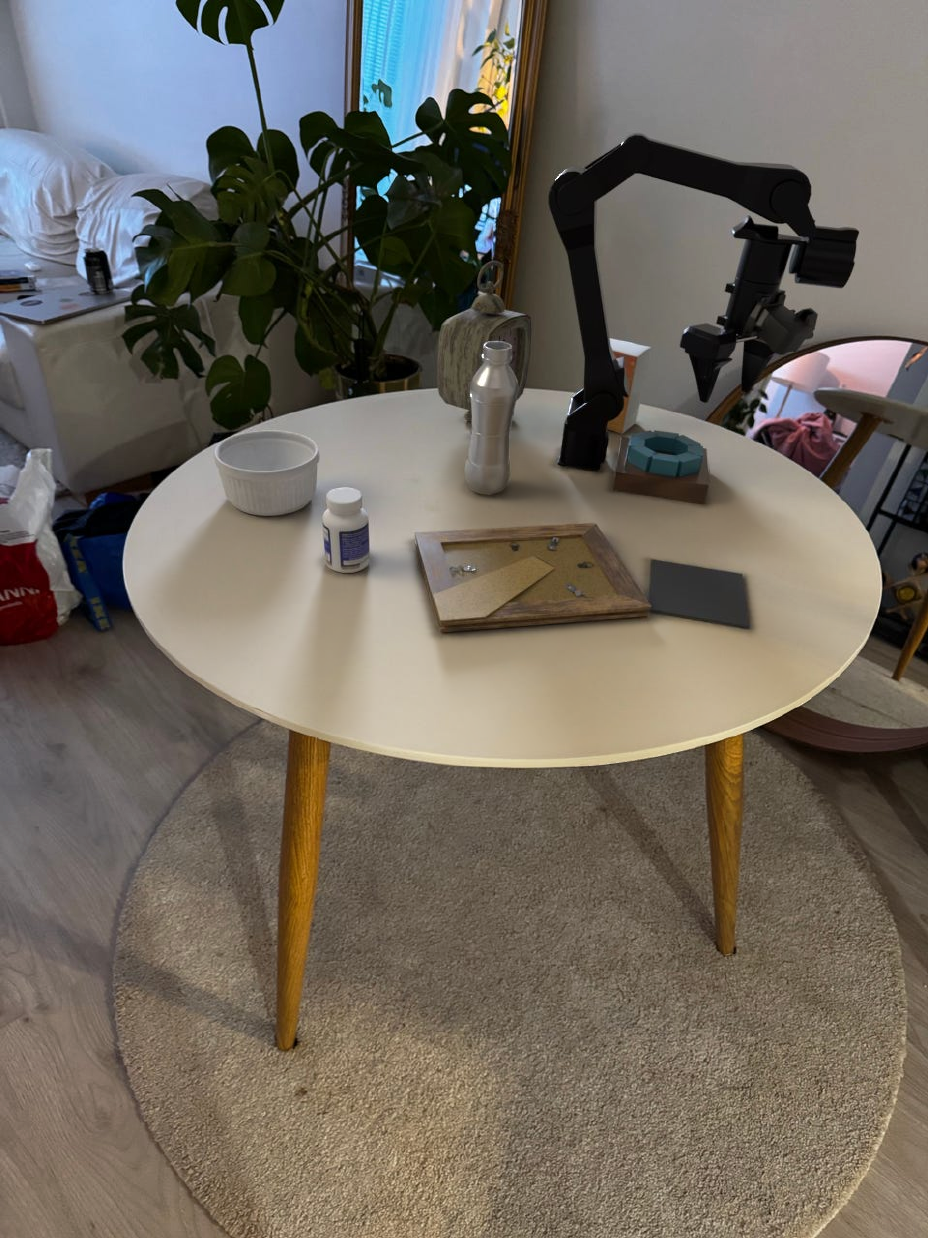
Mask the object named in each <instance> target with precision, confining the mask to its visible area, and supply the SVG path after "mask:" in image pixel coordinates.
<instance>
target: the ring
mask: <svg viewBox="0 0 928 1238" xmlns="http://www.w3.org/2000/svg"><path fill="white" fill-rule="evenodd" d="M629 438H630V439H629V444H628V450H627V457H626V459H628V462H630V463H632V464H633V465H635V466H637V467H639V468H640V469H642V470H644V471H648V470H650V471H649V473H655V474H662V475H669V476H676V474H677V475H678V476H683V475H687V474H690V473H694V472H698V470H700V468H701V464H702V460H703V448H704V445H702V443H700V442H698V441H696V440H694V439H692V438H690V437H688V436H686V435H685V434H679V433H676V432H670V431H663V430H655V429H654V430H653V431H652V430H646V431H642V432H637V433H633V434H632V435H630V436H629ZM652 450H660V451H667V452H673V453H674V454H676V455H668V454H661V453H656V452H654V451H652Z"/></svg>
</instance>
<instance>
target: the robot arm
mask: <svg viewBox="0 0 928 1238" xmlns="http://www.w3.org/2000/svg"><path fill="white" fill-rule="evenodd" d="M634 175H643V176H646V177H649V178H653V179H657V180H660V181H665V182H667V183H672V184H676V185H679V186H683V187H687V188H690V189H693V190H697V191H700V192H705V193H707V194H708V193H709V194H712V195H715V196H719V197H723V198H725V199H728V200H730V201H732V202H733V203H735V204H737V205H739V206H740V207H742V208H744V209H746V210H747V211H750V212H751V213H753V214H755V215H757V216H759V217H761V218H763V219H765V220H767V221H768V222H771V223H773V224H777V225H773V224H763V223H755V222H754V219H753V217H752V216H751V215H750V214H749V215H746V217H745V218H744V219H743V220H742V221H741V222H739V223H738V224H736V225H735V226H733V227H732V228H731V229H730V232H731V234H732V236H733V238H734V239H741V240H744V243H743V246H742V250H741V254H740V257H739V262H738V265H737V268H736V269H737V270H736V273H735V276H734V281H733V282H727V283H726V284H725V288H724V291H723V292H724V293H728V294H729V298H728V303H727V306H726V310H725V314H721V315H718V316H717V318H716V322H715V324H716V325H719V326H721V327H718V326H716V325H713V324H710V323H707V322H705V323H700V324H694V325H689V326H688V327H686V328H685V329H684V330H682V333H681V336H680V337H681V338H680V342H679V348H681V349H683V350H684V353H685V354H687V355H688V357H689V360H690V364H691V367H692V370H693V375H694V378H695V383H696V389H697V393H698V398H699V402H702V403H704V404H707V403H709V400H710V398H711V397H712V394H713V391H714V389H715V386H716V383H717V380H718V378H719V375H720V372H721V369H722V368H723V367H724V366H726V365H727V364H728V363H730V362H732V361H733V358H732V357H731V355H732V354H733V353H734V352H735V350H736V347H737V344H738V343H743V348H742V361H741V362H742V365H741V376H740V377H741V378H740V379H741V380H740V390H741V391H742V392H744V393H745V394H746V393H750V391H751V390H752V388H753V387H754V385H755V383H756V382H757V381H758V379H759V378H760V376H761V374H762V373H763V371H764V370H765V368H766V367H767V365H769V363H770V361H771V360H772V358H774V356H776V355H779V356H784V355H786V354H787V353H796V352H798V351H799V350H800V348H801V346H802V345H803V344H804V342H806V340H810V339H812V338H813V337H814V335H815V334H814V331H815V329H816V325H817V320H818V316H819V313H817V312H816V311H815V310H814V309H813V308H811V307H808V308H803V309H800V310H799V311H797V312H796V310H795V309H793V308H792V309H789V308H787V307H786V305H785V302H786V301H785V300H786V298H787V295H786V290H783V289H780V287H781V284H782V281H783V278H784V275H785V271H786V267H787V264H788V261H789V264H788V274H789V275H794V283H795V284H799V285H806V286H816V287H823V288H824V287H825V288H831V289H843V288H844V287H845V286H846V285H847V283H848V281H849V280H850V277H851V276H852V272H853V270H854V267H855V264H856V262H855V258H856V254H857V253H856V252H857V240H858V237H859V234H860V231H859V230H858V229H857V228H856V227H850V226H842V227H835V226H834V227H833V226H823V225H816V220H815V218H814V217H813V215H812V211H811V209H810V207H809V206H810V205H809V204H810V200H811V198H812V184H811V181H810V178H809V176H808V175H807V174H805V172H803V171H801V170H800V169H799V168H798V167H795V166H794V165H792V164H786V163H773V162H772V163H771V162H745V161H734V160H729V159H727V158H723V157H719V156H715V155H713V154H708V153H705V152H701V151H697V150H695V149H690V148H686V147H683V146H680V145H676V144H672V143H668V142H665V141H661V140H658V139H653V138H650V137H648V136H647V135H646V134H644V133H641V132H634V133H630V134H628V136H627V137H625V138H624V139H623V141H622V142H620V143H619V144H617V145H616V146H614V147H613V148H611V149H609V150H608V151H607V152H605V153H603V154H601V155H600V156H598V157H597V158H596V159H594V160H593V161H591V162H590V163H588V164H586V166H584V167H583V166H578V165H577V166H570V167H568V168H566V169H564V170H563V171H562V172H561V173H560V174H559V175H558V176H557V177H556V179H555V180H554V181H553V183H552V184H551V186H550V189H549V192H548V203H547V204H548V207H549V211H550V214H551V216H552V220H553V222H554V225H555V228H556V231H557V234H558V236H559V238H560V240H561V243H562V245H563V247H564V249H565V252H566V256H567V260H568V267H569V273H570V278H571V285H572V290H573V297H574V302H575V303H574V304H575V307H576V314H577V321H578V327H579V333H580V338H581V339H580V340H581V344H582V350H583V356H584V366H583V367H584V368H583V372H584V373H583V387H582V388H581V389H580V390H579V391H577V392H576V393H575V394H574V395H572V396H571V397H570V400H569V405H568V409H567V414H566V417H565V420H564V424H563V432H562V437H561V438H562V439H561V446H560V452H559V456H558V459H557V462H556V464H557V466H560V467H566V468H572V469H577V470H586V471H592V472H601V468H602V465H604V464H605V463H606V458H607V452H608V447H609V442H610V437H611V432H610V431H607V430H608V429H607V425H608V421H611V420H613V419H615V418H616V417H618V416H619V414H620V413H621V412H622V410H623V408H624V397H627V398H628V397H629V380H628V378H627V376H626V373H625V356H622V357H620V358H617V359H616V357H615V355H614V353H613V350H612V348H611V344H610V338H611V337H610V330H609V324H608V317H607V310H606V304H605V297H604V291H603V283H602V277H601V276H602V275H601V269H600V262H599V256H598V250H597V222H598V221H597V219H598V200H600V199H601V198H603V197H604V196H606V195H608V194H609V193H610V192H612V191H613V190H614V189H616V188H617V187H618V186H620V185H622V183H624V182H625V181H627V180H628V179H630V178H631V177H633V176H634ZM784 224H786V225H787V226H788V227H789V228H790V229H791V230H792V231H793V232H794V233H795V234H796V235H797V236H796V235H788V234H782V233H779V232H780V231H779V229H780V228H779V226H778V225H784ZM793 245H794V247H793ZM792 248H793V249H792ZM791 251H792V252H791ZM790 255H791V256H790ZM789 258H790V259H789ZM722 327H723V328H722Z"/></svg>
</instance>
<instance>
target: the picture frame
mask: <svg viewBox="0 0 928 1238" xmlns="http://www.w3.org/2000/svg"><path fill="white" fill-rule="evenodd" d="M414 546H415V549H416V553H417V556H418V559H419V563H420V566H421V570H422V573H423V578H424V580H425V583H426V584H425V585H426V588H427V591H428V595H429V598H430V603H431V606H432V610H433V613H434V616H435V620H436V624H437V627H438V631H439V633H446V632H447V633H449V632H461V631H462V632H463V631H472V630H473V631H475V630H486V629H487V630H488V629H501V628H511V627H523V626H538V625H550V624H564V623H565V624H566V623H576V622H577V623H578V622H589V621H601V620H602V621H603V620H613V619H627V618H639V617H649V616H650V613H651V612H649V610H651V605H650V603H649V599H647V597H646V596H645V594H644V592H643V591H642V590H641V588H640V586H639V585H638V583H637V582H636V581H635V579H634V578H633V576H632V575H631V573H630V571H629V569H628V568H627V567H626V566H625V564H624V562H623V560H622V559H621V558H620V557H619V555H618V554H617V552H616V551H615V549H614V548H613V546H612V545H611V544H610V541H609V540H608V539H607V537H606V536H605V534H604V533H603V531H602V530H601V528H600V527H599V525H598V524H597V523H596V522H590V523H589V522H588V523H571V524H570V523H565V524H550V525H549V524H548V525H531V526H511V527H494V528H492V527H491V528H475V529H473V528H472V529H454V530H436V531H435V530H433V531H419V532H418V531H417V532H414Z"/></svg>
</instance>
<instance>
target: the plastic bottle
mask: <svg viewBox="0 0 928 1238" xmlns="http://www.w3.org/2000/svg"><path fill="white" fill-rule="evenodd" d="M511 352H512V346H511V345H510V344H508V343H505V342H500V341H491V342H487V343H485V344H484V347H483V355H482V360H483V361H484V364H483V365H482V366H481V367H480V369H479V370H478V371H477V372H476V374H475V375H474V377H473V379H472V382H471V385H470V393H471V407H472V420H471V429H472V434H471V433H470V442H469V447H468V454H467V458H466V461H465V465H464V470H463V471H464V472H463V473H464V480H465V483H466V485H467V487H468V488H469V490H471V491H473V492H474V493H477V494H482V495H494V494H495V495H496V494H498V493H501V492H502V491H504V489H506V487H507V486H508V484H509V482H510V478H511V471H512V470H511V459H510V441H511V440H510V438H511V430H512V429H511V428H512V424H513V423H512V422H513V417H514V415H513V413H514V414H515V408H516V404H517V401H518V400H517V396H518V391H519V386H518V381H517V378H516V376H515V374H514V372H513V371H512V369H511V367H510V366H509V363H510V362H511V361H512V356H511ZM516 400H517V401H516Z"/></svg>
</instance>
